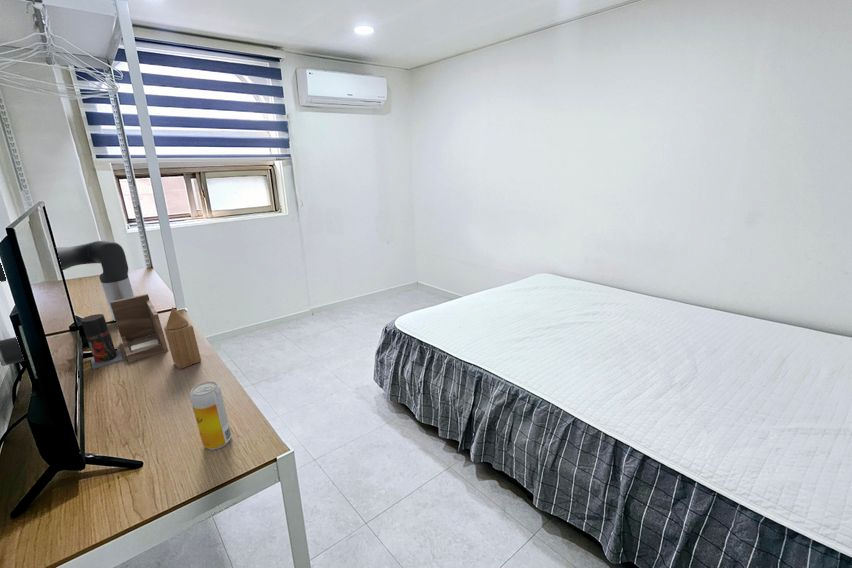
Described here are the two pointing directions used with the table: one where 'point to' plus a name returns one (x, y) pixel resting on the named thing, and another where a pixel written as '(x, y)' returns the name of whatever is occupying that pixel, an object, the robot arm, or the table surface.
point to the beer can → (210, 415)
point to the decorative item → (181, 340)
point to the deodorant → (98, 338)
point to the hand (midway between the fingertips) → (73, 335)
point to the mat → (117, 359)
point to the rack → (138, 324)
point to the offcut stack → (144, 345)
